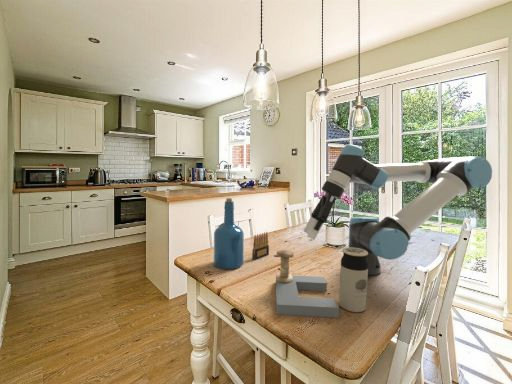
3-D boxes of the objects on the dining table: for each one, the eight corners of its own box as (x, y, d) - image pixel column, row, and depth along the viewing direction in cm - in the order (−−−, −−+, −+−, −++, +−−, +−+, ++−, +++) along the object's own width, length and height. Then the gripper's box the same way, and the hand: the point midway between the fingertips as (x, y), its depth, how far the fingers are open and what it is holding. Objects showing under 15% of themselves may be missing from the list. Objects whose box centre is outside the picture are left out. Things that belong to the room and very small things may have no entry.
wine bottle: (248, 267, 113) (249, 199, 110) (220, 272, 106) (221, 200, 104) (234, 257, 124) (235, 196, 122) (208, 262, 118) (209, 197, 115)
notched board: (323, 284, 97) (323, 276, 97) (338, 317, 75) (338, 307, 75) (275, 282, 98) (275, 274, 98) (276, 314, 76) (276, 304, 76)
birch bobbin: (291, 276, 96) (292, 250, 96) (293, 283, 90) (294, 255, 90) (275, 275, 97) (276, 249, 96) (276, 282, 91) (276, 254, 90)
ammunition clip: (266, 254, 131) (266, 231, 130) (268, 255, 130) (269, 231, 129) (252, 259, 123) (252, 234, 122) (254, 260, 122) (255, 235, 121)
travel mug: (335, 300, 85) (337, 246, 84) (358, 299, 86) (361, 247, 84) (344, 313, 77) (347, 254, 76) (370, 313, 78) (373, 255, 76)
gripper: (320, 182, 108) (296, 226, 108) (333, 177, 83) (302, 235, 83) (336, 190, 107) (312, 235, 108) (354, 188, 82) (323, 246, 83)
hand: (308, 235), depth 95 cm, fingers open, 13 cm apart
